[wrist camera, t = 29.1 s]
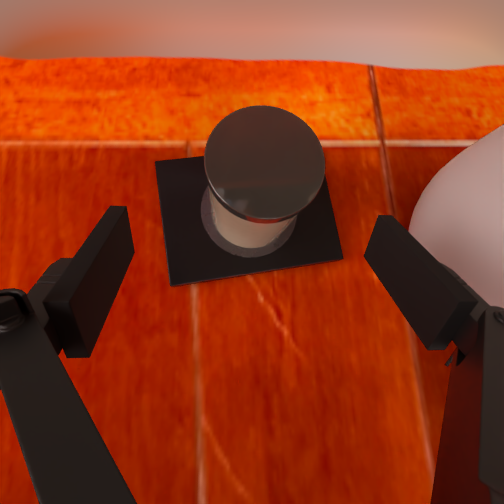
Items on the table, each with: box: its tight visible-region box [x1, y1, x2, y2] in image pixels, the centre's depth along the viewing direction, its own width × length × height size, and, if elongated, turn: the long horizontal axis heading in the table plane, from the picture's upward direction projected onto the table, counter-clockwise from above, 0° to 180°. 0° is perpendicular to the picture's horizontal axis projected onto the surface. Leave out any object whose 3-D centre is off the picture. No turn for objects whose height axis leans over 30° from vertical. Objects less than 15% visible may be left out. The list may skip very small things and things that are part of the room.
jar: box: [204, 106, 325, 248], centre depth 21 cm, size 7×7×9 cm
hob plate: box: [155, 156, 343, 287], centre depth 26 cm, size 15×11×1 cm
